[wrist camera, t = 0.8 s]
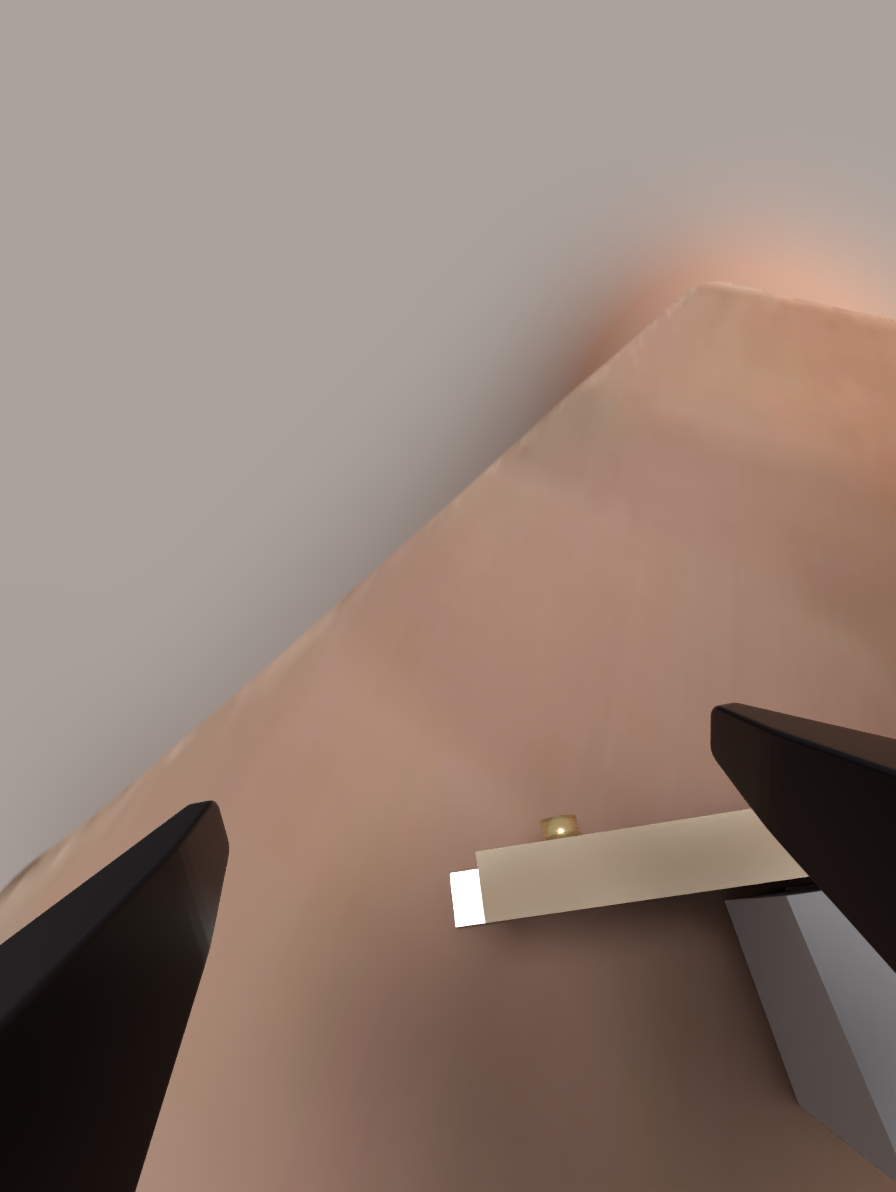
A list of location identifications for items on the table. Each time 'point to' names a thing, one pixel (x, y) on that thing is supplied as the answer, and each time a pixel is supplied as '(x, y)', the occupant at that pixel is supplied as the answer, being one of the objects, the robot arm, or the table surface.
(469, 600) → the table surface
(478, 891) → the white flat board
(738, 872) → the door
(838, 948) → the cabinet
